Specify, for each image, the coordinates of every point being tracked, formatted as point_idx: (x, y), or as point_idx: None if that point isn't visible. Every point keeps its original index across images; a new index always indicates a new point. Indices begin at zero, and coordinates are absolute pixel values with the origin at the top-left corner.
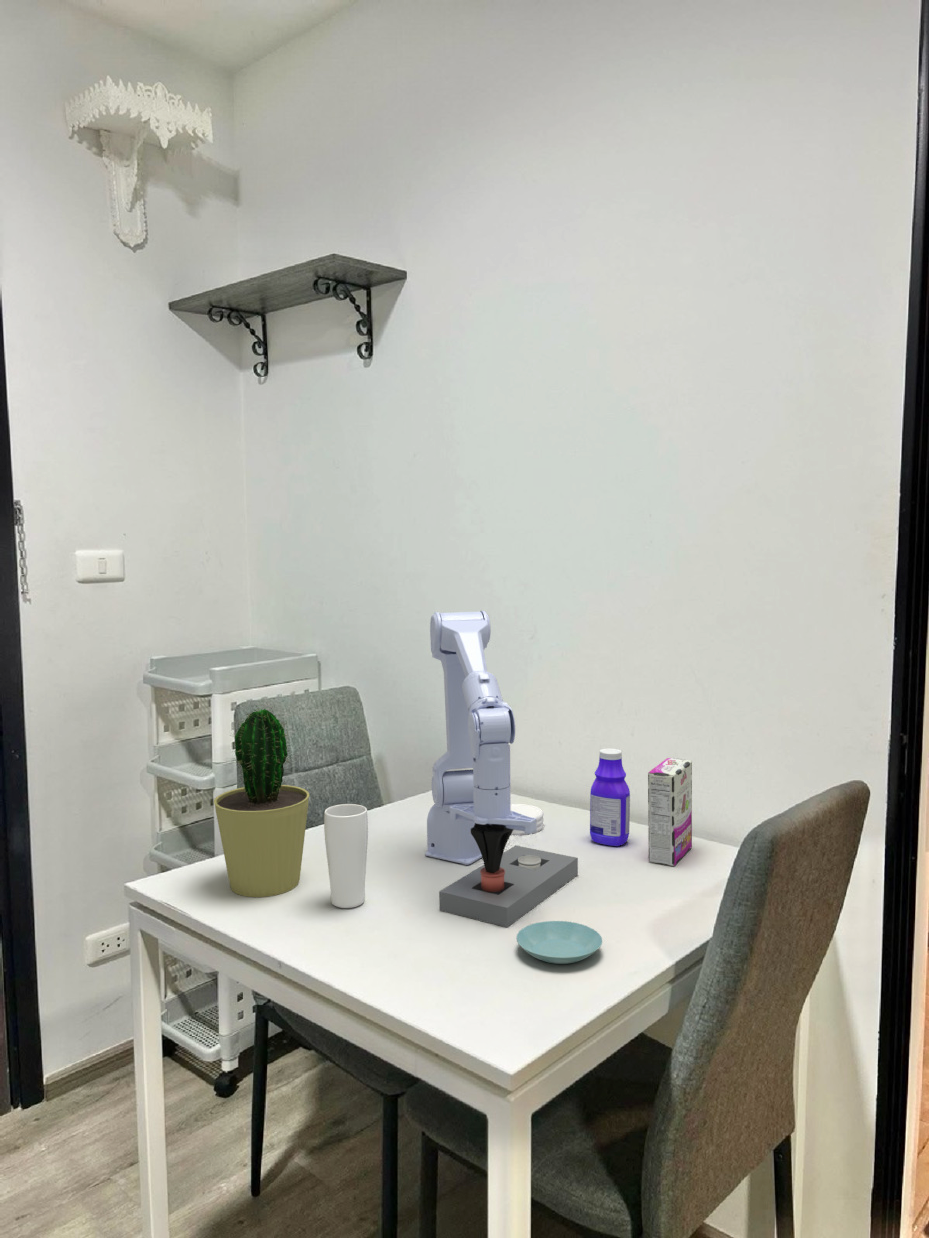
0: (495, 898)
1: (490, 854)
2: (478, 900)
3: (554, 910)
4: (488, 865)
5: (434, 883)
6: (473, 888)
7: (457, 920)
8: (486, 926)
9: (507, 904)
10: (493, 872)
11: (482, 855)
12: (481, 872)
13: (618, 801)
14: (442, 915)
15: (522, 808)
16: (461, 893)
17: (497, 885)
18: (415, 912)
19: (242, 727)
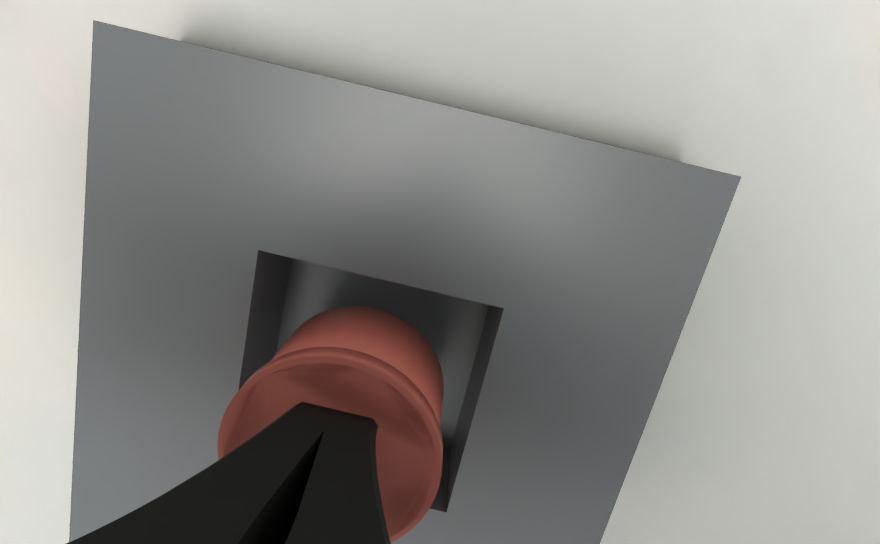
0: (252, 175)
1: (223, 504)
2: (365, 96)
3: (37, 356)
4: (318, 434)
5: (808, 522)
6: (493, 340)
7: (518, 44)
8: (307, 14)
9: (121, 91)
10: (293, 407)
11: (368, 512)
12: (410, 393)
13: None
14: (640, 90)
15: None
16: (544, 192)
17: (286, 344)
18: (839, 78)
19: None
